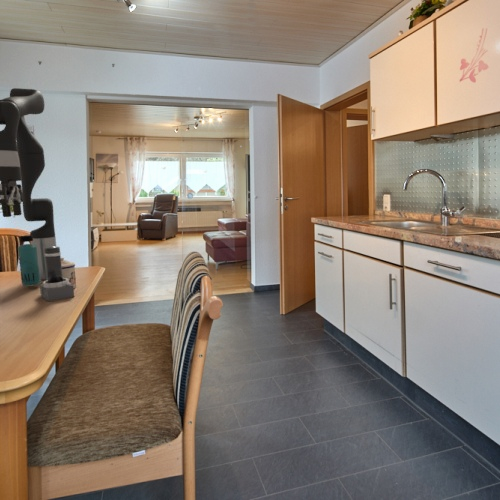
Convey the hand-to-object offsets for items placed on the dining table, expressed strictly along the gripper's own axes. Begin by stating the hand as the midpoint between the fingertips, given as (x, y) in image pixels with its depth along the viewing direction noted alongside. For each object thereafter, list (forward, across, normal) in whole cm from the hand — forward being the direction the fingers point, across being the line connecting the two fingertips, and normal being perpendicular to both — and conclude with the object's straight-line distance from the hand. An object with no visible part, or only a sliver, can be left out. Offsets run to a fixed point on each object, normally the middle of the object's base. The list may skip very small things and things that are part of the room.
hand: (12, 216), depth 128 cm
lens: (+24, 0, -11) cm, 27 cm away
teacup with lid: (+28, +12, -10) cm, 33 cm away
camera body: (+28, 0, -11) cm, 30 cm away
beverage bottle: (+28, +16, +2) cm, 33 cm away
